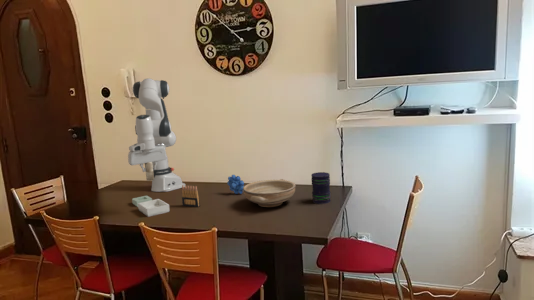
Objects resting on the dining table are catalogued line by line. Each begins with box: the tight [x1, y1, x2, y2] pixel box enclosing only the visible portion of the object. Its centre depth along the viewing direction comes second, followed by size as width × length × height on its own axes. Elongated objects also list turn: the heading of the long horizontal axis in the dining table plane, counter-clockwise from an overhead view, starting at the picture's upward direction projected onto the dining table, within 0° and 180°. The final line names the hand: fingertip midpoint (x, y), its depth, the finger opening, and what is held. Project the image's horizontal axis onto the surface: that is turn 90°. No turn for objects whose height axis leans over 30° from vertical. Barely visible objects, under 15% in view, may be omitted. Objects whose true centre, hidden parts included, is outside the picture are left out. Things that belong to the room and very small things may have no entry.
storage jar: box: [311, 171, 332, 205], centre depth 225 cm, size 10×10×15 cm
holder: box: [131, 195, 153, 208], centre depth 246 cm, size 9×9×3 cm
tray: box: [137, 198, 171, 218], centre depth 229 cm, size 12×16×4 cm
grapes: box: [227, 174, 245, 195], centre depth 251 cm, size 12×7×12 cm, turn 65°
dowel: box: [144, 162, 154, 182], centre depth 226 cm, size 4×4×10 cm
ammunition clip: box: [181, 185, 201, 208], centre depth 233 cm, size 11×2×12 cm, turn 65°
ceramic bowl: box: [242, 178, 296, 208], centre depth 228 cm, size 37×29×10 cm
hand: (149, 170), depth 226 cm, fingers closed on dowel, 4 cm apart
